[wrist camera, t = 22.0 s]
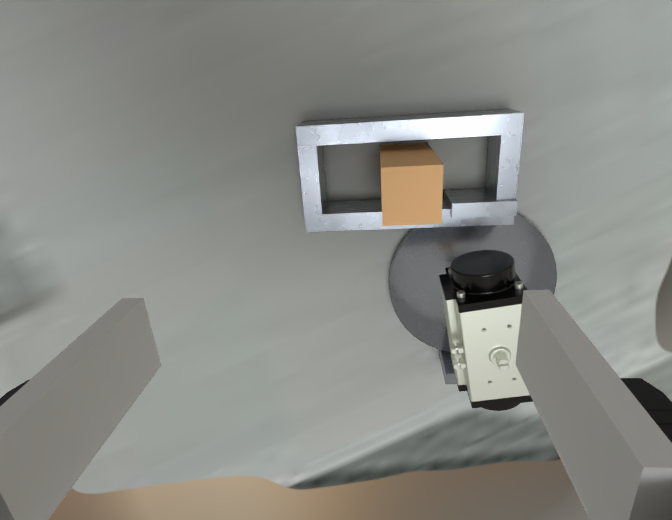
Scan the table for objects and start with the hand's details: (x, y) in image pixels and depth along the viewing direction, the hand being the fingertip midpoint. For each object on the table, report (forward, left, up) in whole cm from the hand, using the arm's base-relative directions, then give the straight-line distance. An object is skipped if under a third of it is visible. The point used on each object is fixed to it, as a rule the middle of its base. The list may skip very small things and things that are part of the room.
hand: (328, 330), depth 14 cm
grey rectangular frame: (0, +4, -26) cm, 27 cm away
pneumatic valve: (+11, +9, -25) cm, 29 cm away
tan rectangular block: (0, +4, -26) cm, 27 cm away
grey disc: (+11, +10, -26) cm, 30 cm away
